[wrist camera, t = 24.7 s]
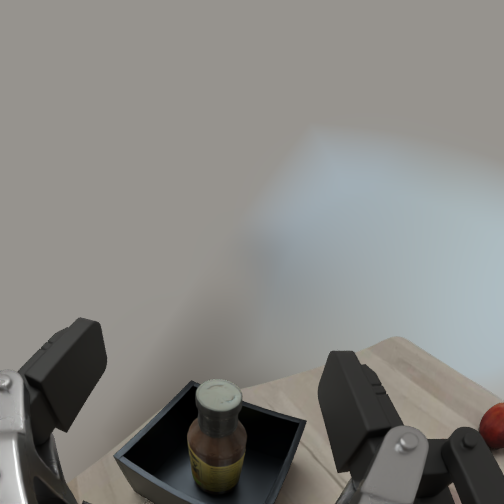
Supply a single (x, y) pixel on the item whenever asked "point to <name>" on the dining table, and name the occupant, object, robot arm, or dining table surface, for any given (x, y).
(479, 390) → the dining table surface
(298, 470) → the dining table surface
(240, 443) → the sauce bottle
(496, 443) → the fruit
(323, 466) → the dining table surface
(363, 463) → the robot arm
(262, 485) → the black open storage bin
